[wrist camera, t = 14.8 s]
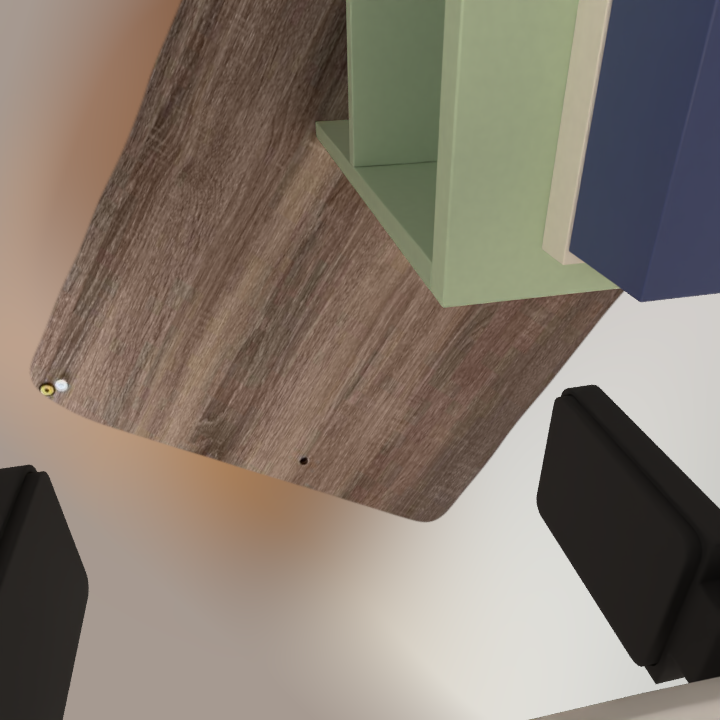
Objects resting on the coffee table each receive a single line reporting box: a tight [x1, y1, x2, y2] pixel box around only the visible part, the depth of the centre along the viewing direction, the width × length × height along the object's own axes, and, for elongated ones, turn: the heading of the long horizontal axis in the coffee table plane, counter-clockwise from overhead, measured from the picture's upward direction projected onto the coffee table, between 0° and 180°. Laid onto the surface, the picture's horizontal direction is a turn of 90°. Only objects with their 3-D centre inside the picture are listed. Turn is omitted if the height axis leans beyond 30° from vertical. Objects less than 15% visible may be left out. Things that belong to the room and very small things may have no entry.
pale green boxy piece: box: [316, 0, 620, 308], centre depth 32 cm, size 12×16×32 cm
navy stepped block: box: [542, 0, 720, 302], centre depth 16 cm, size 5×12×6 cm, turn 1°
